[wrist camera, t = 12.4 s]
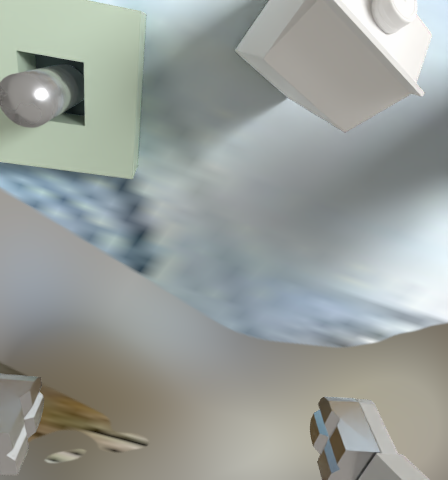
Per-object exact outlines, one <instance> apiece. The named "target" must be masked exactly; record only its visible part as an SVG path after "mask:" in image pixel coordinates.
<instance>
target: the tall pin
mask: <svg viewBox="0 0 448 480" xmlns="http://www.w3.org/2000/svg"><path fill="white" fill-rule="evenodd" d="M83 99H84V77H83V75H82V74H81V73H80V71H79V70H77V69H76V68H75V67H73V66H71V65H68V64H58V65H53V66H49V67H44V68H39V69H34V70H29V71H24V72H20V73H15V74H11V75H8V76H6V77H5V78H4V79H3V80H2V81H1V82H0V107H1V109H2V111H3V112H4V114H5V115H6V116H7V117H8V118H9V119H10V120H11V121H13V122H14V123H16V124H18V125H20V126H23V127H28V128H35V127H39V126H41V125H43V124H45V123H46V122H48V121H50V120H52V119H53V118H55V117H57V116H58V115H60V114H62V113H63V112H65V111H67V110H68V109H70V108H72V107H73V106H75V105H77V104H78V103H80V102H81V101H82V100H83Z"/></svg>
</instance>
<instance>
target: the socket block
mask: <svg viewBox="0 0 448 480" xmlns="http://www.w3.org/2000/svg"><path fill="white" fill-rule="evenodd" d="M145 29H146V14H145V13H143V12H141V11H137V10H132V9H127V8H123V7H118V6H113V5H108V4H103V3H98V2H93V1H88V0H0V82H1V81H2V80H3V79H4V78H5V77H6V76H8V75H11V74H15V73H20V72H24V71H29V70H34V69H36V58H35V54H39V55H45V56H50V57H56V58H61V59H67V60H73V61H78V62H84V107H85V116H82V115H75V114H69V113H62V114H60V115H58V116H57V117H55V118H53V119H52V120H50V121H48V122H46V123H45V124H43V125H41V126H39V127H35V128H28V127H23V126H20V125H18V124H16V123H14V122H13V121H11V120H10V119H9V118H8V117H7V116H6V115H5V114H4V112H3V111H2V109H1V107H0V162H4V163H12V164H20V165H27V166H35V167H43V168H51V169H58V170H66V171H74V172H81V173H89V174H97V175H104V176H112V177H120V178H127V179H133V177H134V175H135V172H136V169H137V167H138V153H139V135H140V118H141V100H142V82H143V64H144V47H145Z"/></svg>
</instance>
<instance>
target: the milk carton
mask: <svg viewBox="0 0 448 480" xmlns="http://www.w3.org/2000/svg"><path fill="white" fill-rule="evenodd" d="M431 38H432V34H431V32H430V31H429V29H428V28H427V27H426V25H425V24H424V23H423V21H422V20H421V19H420V18H419V16H418V15H417V1H416V0H269V1H268V2H267V4H266V5H265V7H264V8H263V10H262V11H261V13H260V14H259V16H258V17H257V18H256V20H255V21H254V23H253V24H252V26H251V27H250V29H249V30H248V32H247V33H246V34H245V36H244V37H243V39H242V40H241V42H240V43H239V45H238V46H237V48H236V49H235V51H236V53H237V54H238V55H240V56H241V57H242V58H243V59H244V60H245V61H246V62H247V63H249V64H250V65H251V66H252V67H253V68H254V69H255V70H256V71H258V72H259V73H260V74H261V75H262V76H263V77H264V78H266V79H267V80H268V81H269V82H270V83H271V84H272V85H273V86H275V87H276V88H277V89H278V90H279V91H280V92H281V93H283V94H284V95H285V96H286V97H287V98H289V99H290V100H292V101H294V102H295V103H297V104H299V105H300V106H302V107H304V108H305V109H307V110H309V111H310V112H312V113H313V114H315V115H317V116H318V117H320V118H322V119H323V120H325V121H327V122H328V123H330V124H332V125H333V126H335V127H336V128H338V129H340V130H341V131H343V132H347V131H349V130H351V129H353V128H354V127H356V126H358V125H359V124H361V123H363V122H364V121H366V120H368V119H370V118H371V117H373V116H375V115H376V114H378V113H380V112H381V111H383V110H385V109H387V108H388V107H390V106H392V105H393V104H395V103H397V102H398V101H400V100H402V99H404V98H405V97H407V96H409V95H410V94H414V95H418V96H423V95H424V94H425V92H424V91H423V90H422V89H421V88H420V87H419V85H418V84H417V80H418V77H419V74H420V71H421V68H422V65H423V62H424V59H425V56H426V53H427V50H428V47H429V44H430V41H431Z"/></svg>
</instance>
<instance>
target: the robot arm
mask: <svg viewBox="0 0 448 480" xmlns="http://www.w3.org/2000/svg"><path fill="white" fill-rule="evenodd" d="M41 387H42V382H41V377H32V376H21V375H10V374H1V373H0V475H18V473H19V471H20V468H21V466H22V463H23V461H24V459H25V456H26V454H27V452H28V449H29V446H28V438H29V437H30V436H31V435H33V434H34V433H35V432H36V430H37V428H38V425H39V423H40V420H41V416H42V412H43V405H44V398H43V395H42V394H41V393H40V392H39V391H40V389H41ZM319 408H320V410H318V411H317V412H315V413H314V414H313V416H312V418H311V423H310V434H311V440H312V444H313V446H314V447H315V449H316V450H317V451H318V452H319V453H320V456H319V458H318V461H317V462H318V466H319V470H320V473H321V477H322V480H429V479H428V478H427V477H426V476H425V475H424V474H423V473H422V472H421V471H420V470H419V469H418V468H417V467H416V466H415V465H414V464H413V463H412V462H410V461H409V460H408V459H407V458H406V457H405V456H404V455H403V454H398V452H397V450H396V448H395V446H394V444H393V442H392V439H391V437H390V435H389V433H388V431H387V429H386V427H385V425H384V423H383V420H382V418H381V416H380V415H379V412H378V410H377V408H376V406H375V404H374V403H373V402H372V401H371V400H362V399H353V398H337V397H323V398H321V400H320V402H319Z"/></svg>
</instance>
